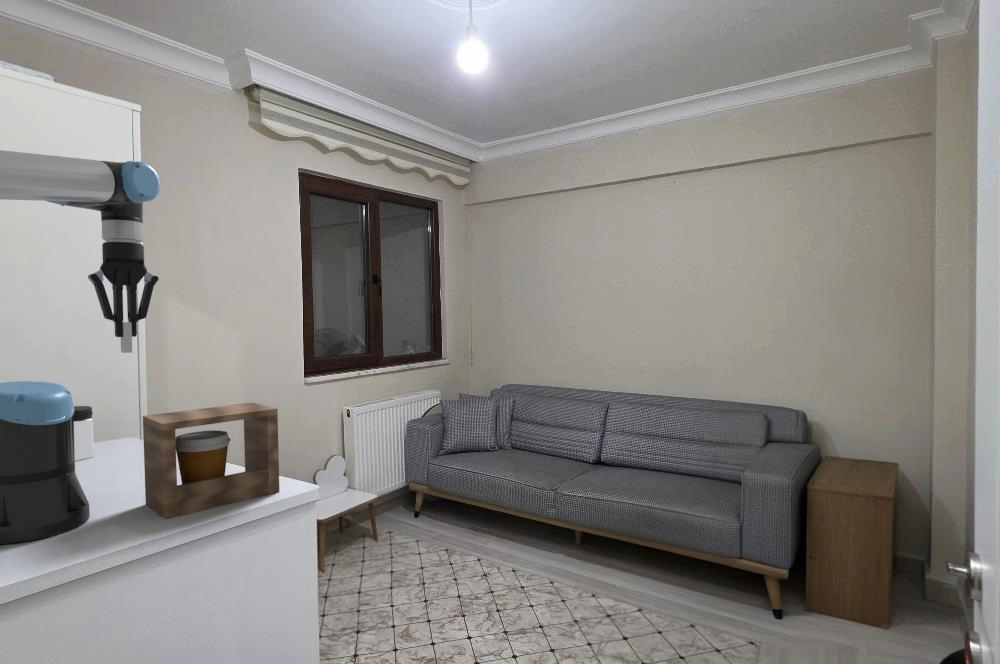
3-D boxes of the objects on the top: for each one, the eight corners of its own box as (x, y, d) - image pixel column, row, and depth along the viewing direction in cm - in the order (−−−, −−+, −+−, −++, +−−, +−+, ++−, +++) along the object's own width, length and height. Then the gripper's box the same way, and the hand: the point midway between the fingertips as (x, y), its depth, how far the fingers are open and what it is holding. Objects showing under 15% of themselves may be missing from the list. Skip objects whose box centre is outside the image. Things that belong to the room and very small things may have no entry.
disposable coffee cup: (240, 497, 110) (239, 434, 109) (186, 511, 103) (184, 443, 102) (219, 487, 116) (217, 427, 116) (166, 499, 109) (164, 435, 109)
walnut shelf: (165, 519, 99) (161, 423, 98) (145, 504, 107) (142, 415, 106) (279, 491, 113) (277, 408, 113) (255, 480, 121) (253, 402, 120)
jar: (95, 459, 140) (93, 409, 139) (52, 465, 135) (50, 413, 134) (92, 452, 147) (90, 404, 146) (51, 457, 142) (49, 408, 141)
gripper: (151, 246, 133) (154, 350, 134) (82, 241, 124) (86, 353, 124) (162, 243, 128) (165, 351, 129) (91, 238, 118) (94, 355, 119)
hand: (126, 352), depth 126 cm, fingers closed
